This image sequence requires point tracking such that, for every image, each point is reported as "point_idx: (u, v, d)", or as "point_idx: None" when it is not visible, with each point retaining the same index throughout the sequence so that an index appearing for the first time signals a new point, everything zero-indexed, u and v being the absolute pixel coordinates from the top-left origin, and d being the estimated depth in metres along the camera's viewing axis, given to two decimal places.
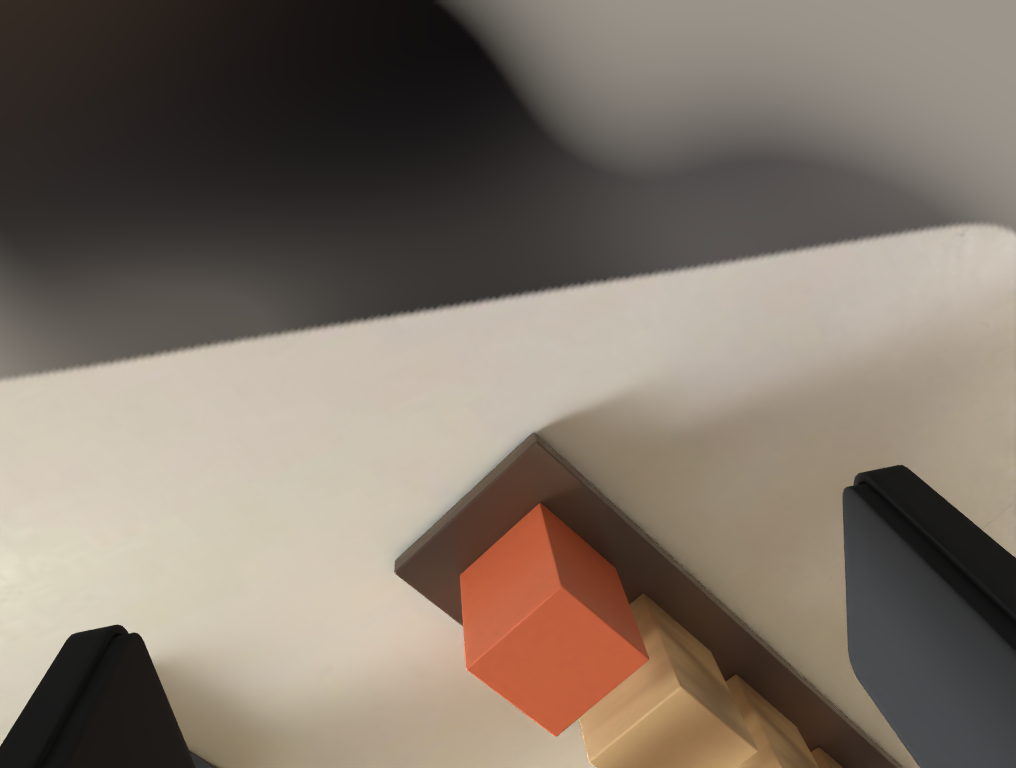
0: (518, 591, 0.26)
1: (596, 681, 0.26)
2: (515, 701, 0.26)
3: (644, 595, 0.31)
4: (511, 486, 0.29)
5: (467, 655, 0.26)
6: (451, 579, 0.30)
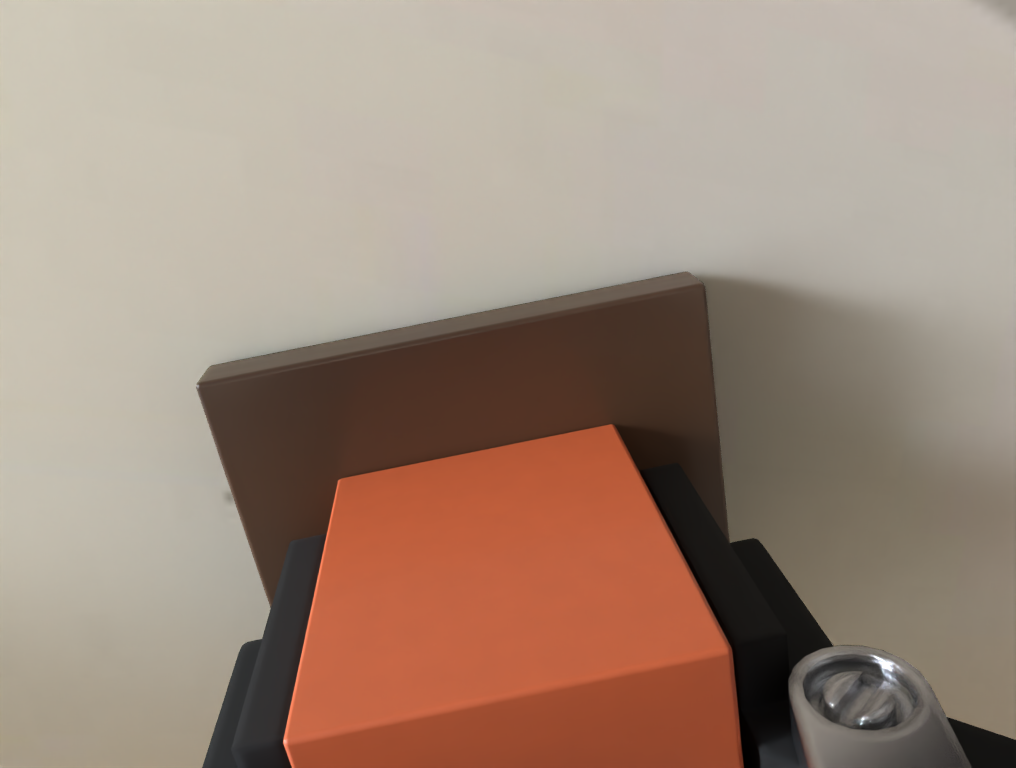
0: (536, 591, 0.09)
1: None
2: None
3: None
4: (584, 350, 0.12)
5: (303, 695, 0.08)
6: (314, 479, 0.12)
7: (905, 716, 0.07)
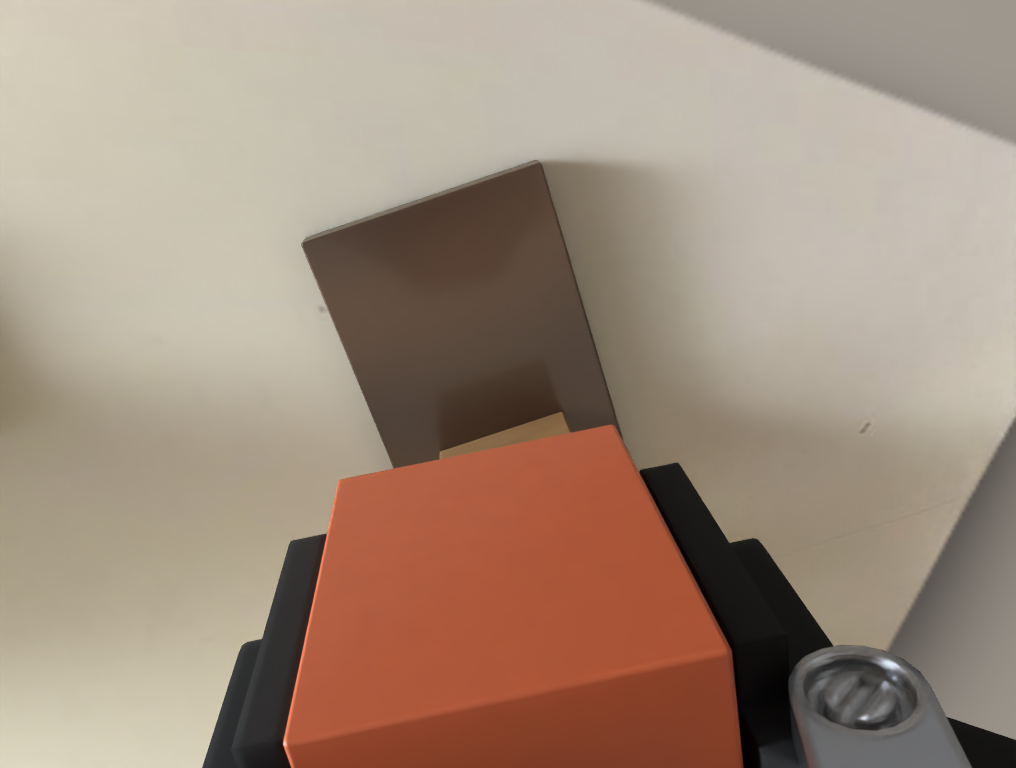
0: (537, 593, 0.09)
1: None
2: None
3: (563, 413, 0.26)
4: (486, 203, 0.23)
5: (304, 697, 0.08)
6: (363, 287, 0.24)
7: (905, 716, 0.07)
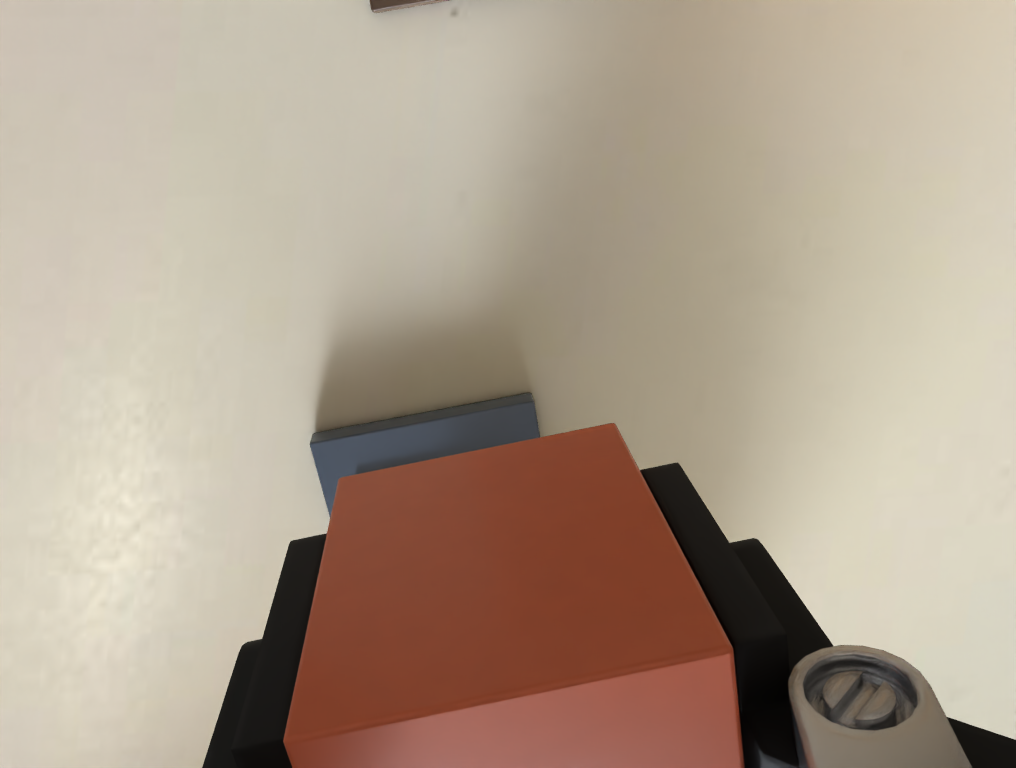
0: (537, 591, 0.09)
1: None
2: None
3: None
4: None
5: (303, 695, 0.08)
6: None
7: (905, 716, 0.07)
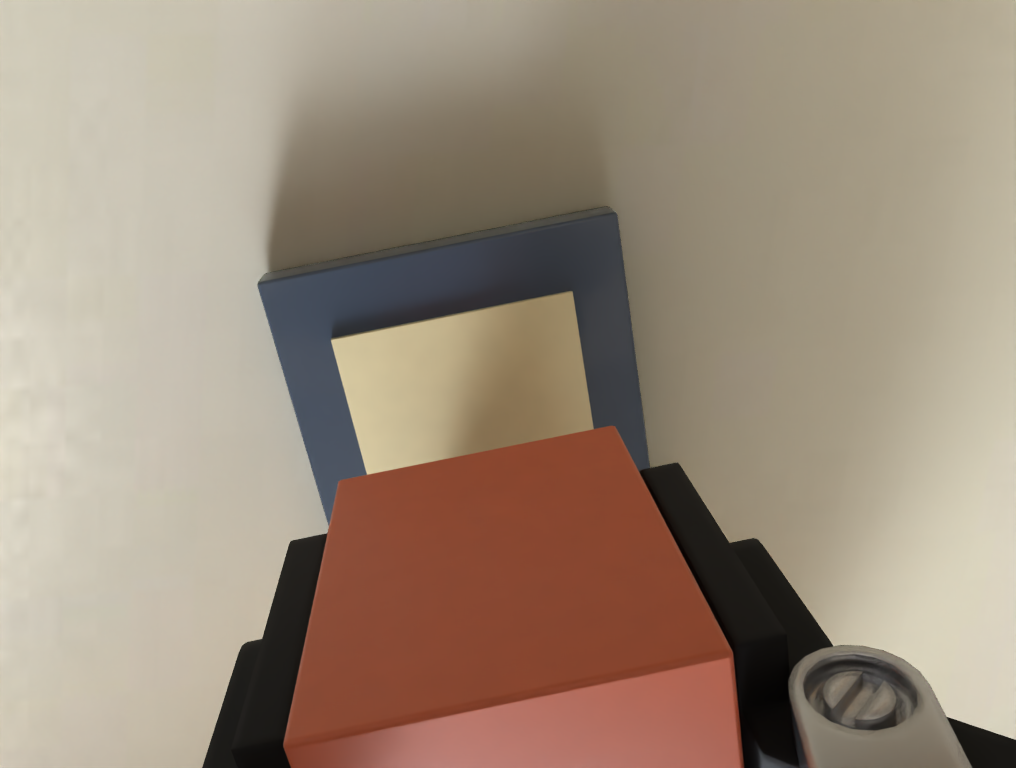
0: (537, 594, 0.09)
1: None
2: None
3: None
4: None
5: (303, 699, 0.08)
6: None
7: (905, 716, 0.07)
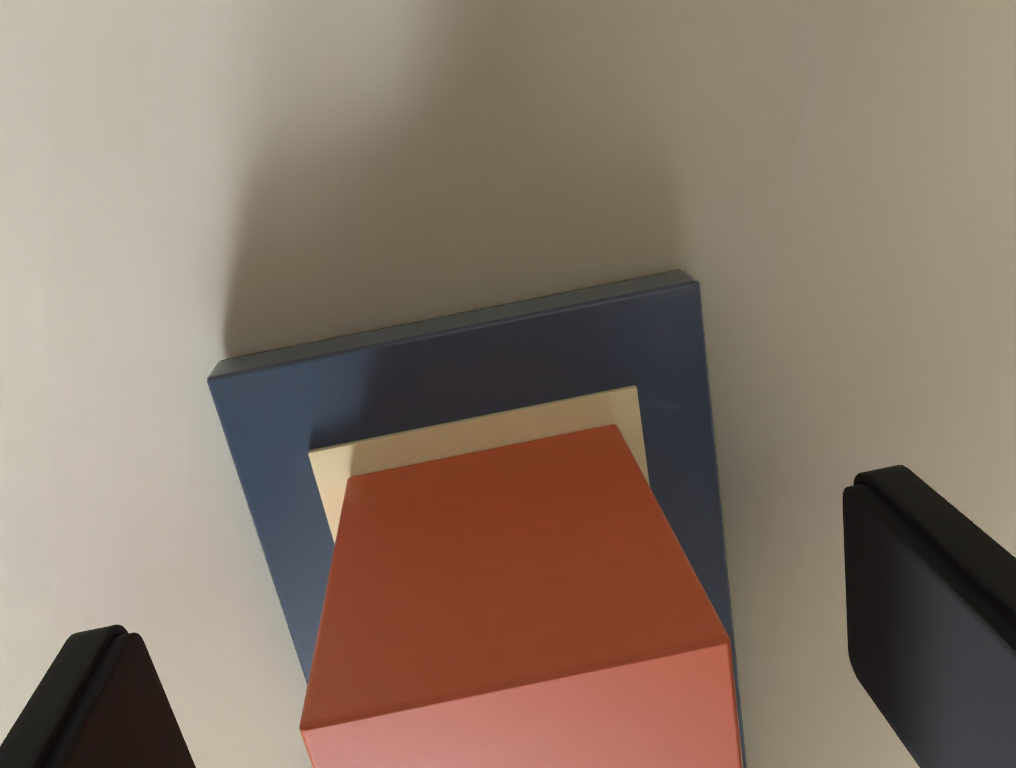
0: (542, 585, 0.09)
1: None
2: None
3: None
4: None
5: (318, 683, 0.08)
6: None
7: None
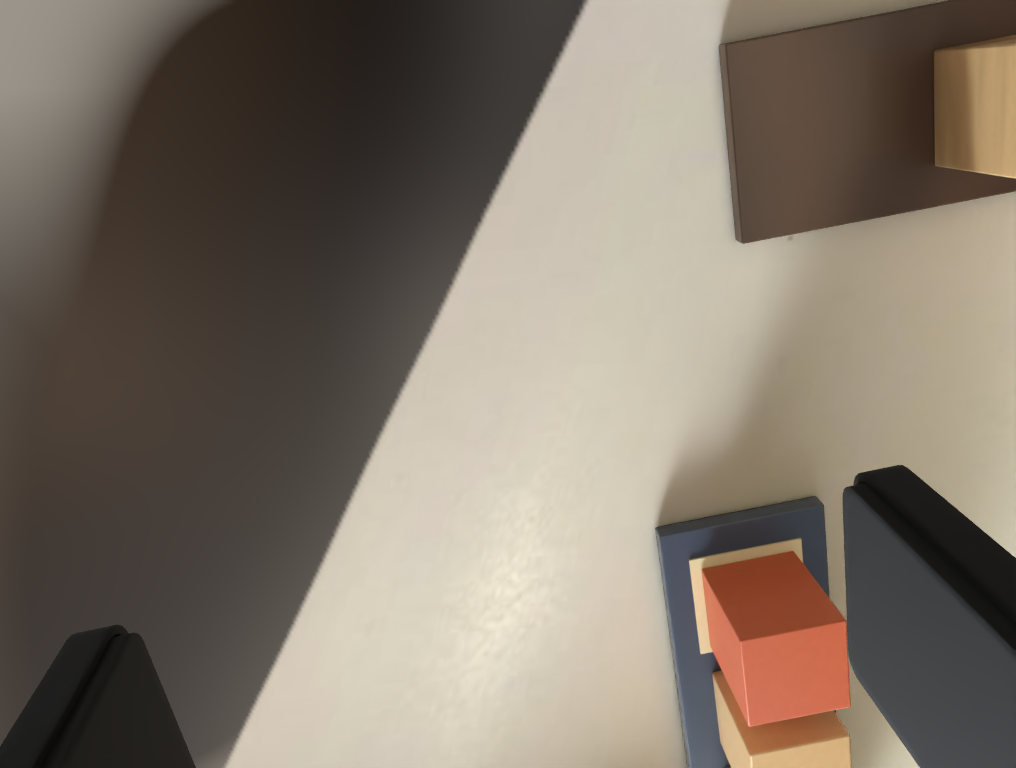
0: (790, 606, 0.32)
1: (807, 701, 0.32)
2: (748, 684, 0.32)
3: (936, 50, 0.29)
4: (746, 94, 0.30)
5: (738, 631, 0.31)
6: (785, 203, 0.31)
7: None
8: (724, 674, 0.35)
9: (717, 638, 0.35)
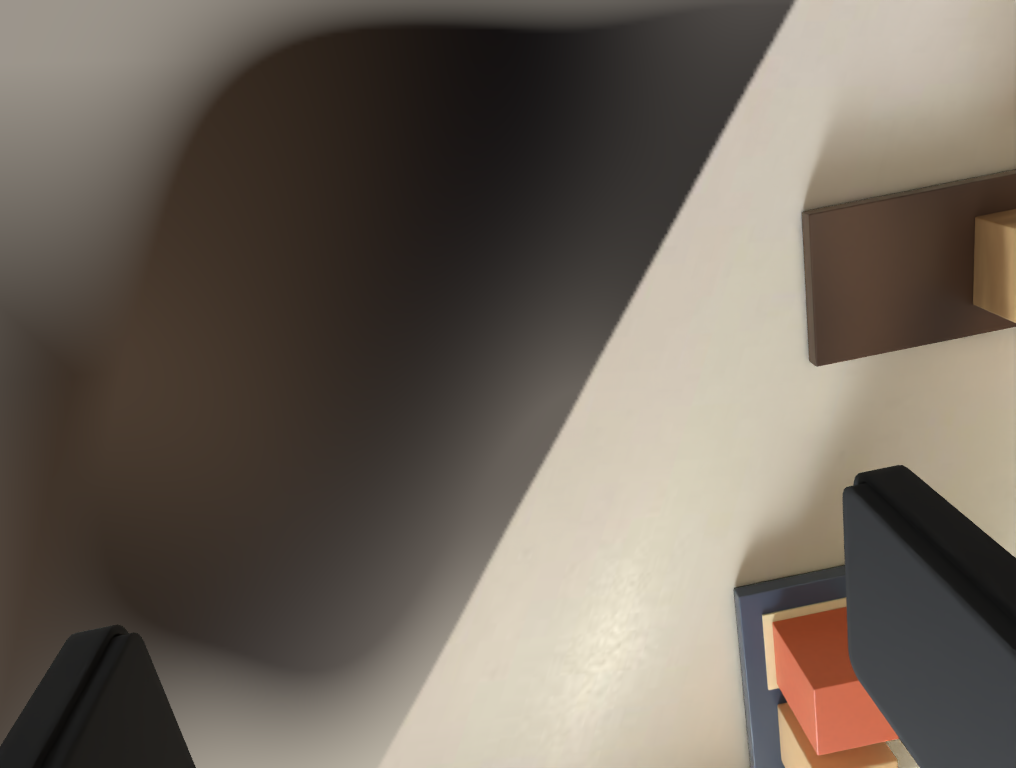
0: None
1: (865, 735, 0.40)
2: (818, 722, 0.39)
3: (977, 217, 0.36)
4: (824, 252, 0.36)
5: (811, 680, 0.39)
6: (852, 335, 0.38)
7: None
8: (792, 709, 0.42)
9: (786, 680, 0.42)
